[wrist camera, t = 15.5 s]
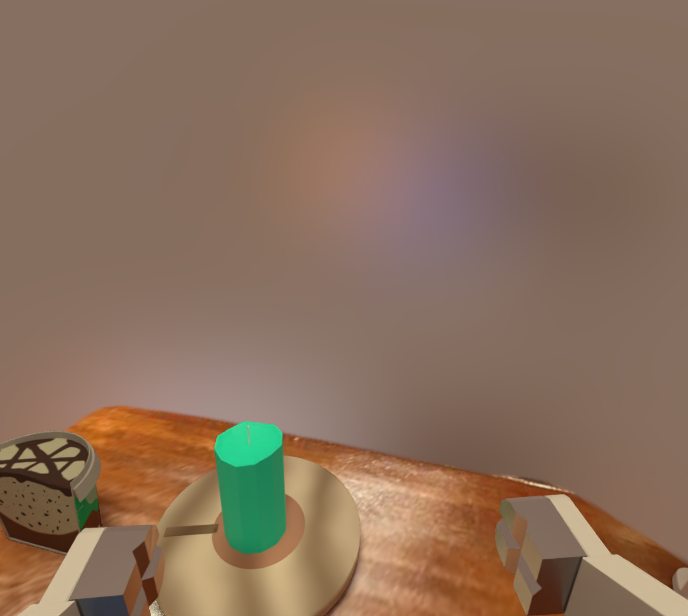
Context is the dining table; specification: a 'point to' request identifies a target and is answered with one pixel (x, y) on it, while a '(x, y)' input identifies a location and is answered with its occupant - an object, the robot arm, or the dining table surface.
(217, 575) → the turntable
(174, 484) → the dining table surface
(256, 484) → the candle
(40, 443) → the food container
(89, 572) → the robot arm
